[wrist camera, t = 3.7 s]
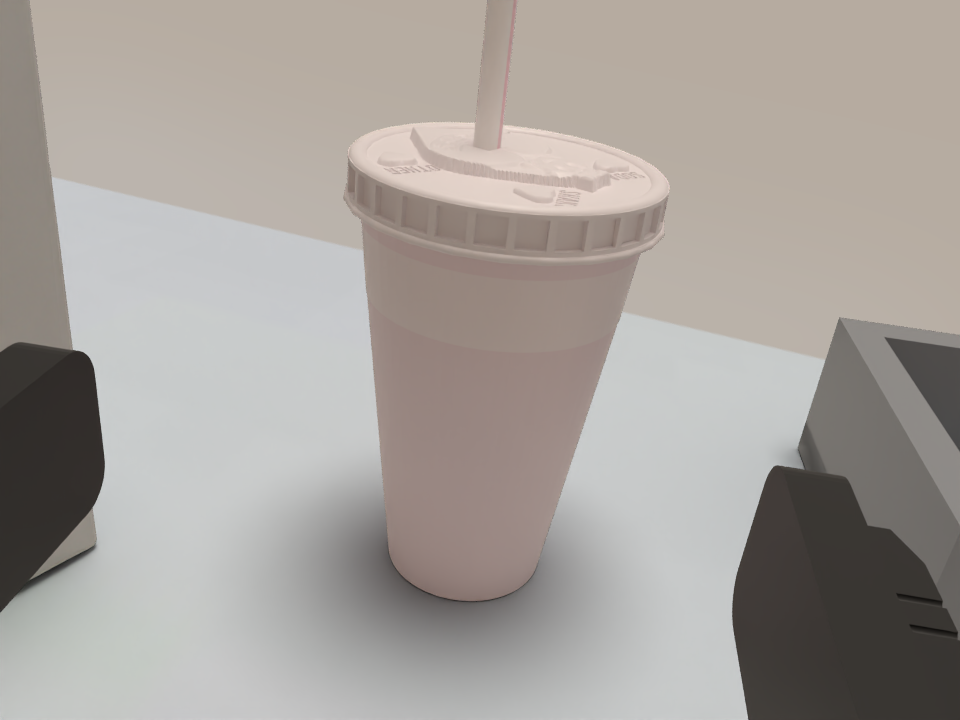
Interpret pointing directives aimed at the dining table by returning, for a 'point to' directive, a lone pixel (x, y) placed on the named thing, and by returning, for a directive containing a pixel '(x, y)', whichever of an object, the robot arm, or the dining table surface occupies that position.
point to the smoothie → (490, 321)
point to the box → (895, 437)
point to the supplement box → (30, 221)
